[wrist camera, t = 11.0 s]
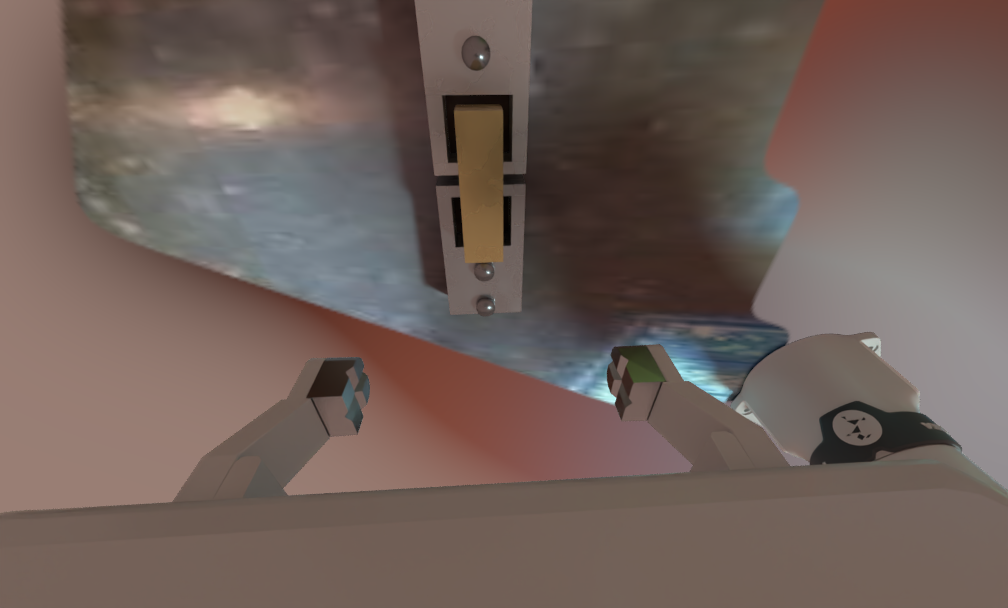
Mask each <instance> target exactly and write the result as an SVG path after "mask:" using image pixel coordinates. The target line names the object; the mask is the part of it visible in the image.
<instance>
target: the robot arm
mask: <svg viewBox="0 0 1008 608" xmlns="http://www.w3.org/2000/svg"><path fill="white" fill-rule="evenodd" d="M611 357H612V360H613V361H612V362H611V363H610V364H609V365H608V369H607V382H608V387H609V390H610V393H611V394H613V395H614V396H615V397H616V402H615V406H616V408H617V411H618V413H619V416H620V418H621V421H648V423H649V424H650V425H651V426H652V427H653V428H654V429H655V430H657V431H658V432H659V433H660V434H661V435H662V436H663V437H664V438H665V439H666V440H667V441H668V442H669V443H670V444H671V445H672V446H673V447H674V448H676V449H677V450H678V451H679V452H680V453H681V454H682V455H683V456H684V457H685V458H686V459H687V460H688V461H689V462H690V463H691V464H692V465H693V467H692V468H691V470H690V472H684V473H667V474H650V475H633V476H617V477H600V478H584V479H583V478H582V479H566V480H548V481H531V482H514V483H497V484H480V485H465V486H464V485H463V486H445V487H430V488H429V487H428V488H410V489H393V490H378V491H377V490H376V491H360V492H341V493H324V494H307V495H291V496H288V495H287V493H286V492H285V491H284V489H283V488H284V487H285V486H286V485H287V483H289V482H290V480H291V479H292V478H293V477H294V476H295V475H296V474H297V473H298V472H299V471H300V470H301V469H302V467H304V465H305V464H306V463H307V462H308V461H309V460H310V459H311V458H312V457H313V455H315V454H316V453H317V451H318V450H319V449H320V448H321V447H322V446H323V445H324V444H325V443H326V442H327V440H328V439H329V437H332V436H346V435H357V434H358V432H359V429H360V425H361V422H362V419H363V414H362V411H361V409H362V408H364V407H365V406H366V405H367V403H368V399H369V393H370V385H369V379H368V376H367V375H366V374H365V373H363V372H362V371H363V368H364V364H363V361H362V359H361V358H359V357H349V358H312V359H310V360H308V361H307V362H306V364H305V366H304V368H303V370H302V372H301V374H300V375H299V377H298V379H297V381H296V383H295V385H294V387H293V388H292V390H291V392H290V394H289V396H288V398H287V399H286V400H281V401H279V402H278V403H277V404H275V405H274V406H272V407H271V408H270V409H268V410H267V411H265V412H264V413H263V414H261V415H260V416H258V417H257V418H256V419H254V420H253V421H252V422H250V423H249V424H247V425H246V426H245V427H243V428H242V429H241V430H239V431H238V432H236V433H235V434H234V435H233V436H231V437H230V438H228V439H227V440H225V441H224V442H223V443H221V444H220V445H219V446H217V447H216V448H214V449H213V450H212V451H211V452H209V453H207V454H206V455H205V456H203V457H202V458H201V460H200V461H199V463H198V464H197V466H196V467H195V469H194V470H193V472H192V473H191V475H190V476H189V478H188V479H187V481H186V482H185V484H184V485H183V487H182V488H181V490H180V491H179V493H178V494H177V496H176V497H175V499H174V500H173V502H169V503H152V504H136V505H117V506H100V507H83V508H66V509H49V510H24V511H12V512H4V513H0V608H1008V490H1007V489H1006V488H1004V487H1003V486H1002V485H1001V484H999V483H998V482H997V481H996V480H994V479H993V478H992V477H991V476H989V475H988V474H987V473H986V472H984V471H983V470H982V469H981V468H980V467H979V466H977V465H976V464H975V463H974V462H973V461H971V460H970V459H969V458H968V457H967V456H965V455H964V454H963V453H962V447H961V446H960V445H959V444H958V443H957V442H956V441H955V440H954V439H953V438H952V437H951V436H950V435H949V433H948V432H947V431H945V430H944V429H943V428H942V427H941V426H938V425H937V424H936V423H934V422H933V421H932V420H931V419H930V418H928V417H927V416H926V415H924V414H921V413H920V410H919V403H920V398H919V395H920V392H919V390H918V389H917V388H916V387H915V386H913V385H912V384H911V383H910V382H909V381H908V380H907V379H905V378H904V377H903V376H902V375H901V374H900V373H898V372H897V371H896V370H895V369H894V368H893V367H891V366H890V365H889V364H888V363H887V362H885V361H884V360H883V359H882V358H881V340H880V338H879V337H878V336H877V335H876V334H875V333H873V332H865V333H860V334H854V335H840V334H821V335H815V336H810V337H807V338H804V339H800V340H797V341H795V342H792V343H790V344H788V345H785V346H783V347H782V348H780V349H778V350H776V351H774V352H773V353H771V354H770V355H768V356H767V357H766V358H764V359H763V360H762V361H761V362H759V363H758V364H757V365H756V366H755V367H754V368H753V369H752V371H751V372H750V373H749V375H748V376H747V378H746V380H745V382H744V384H743V388H742V390H741V392H740V394H739V395H738V396H737V397H736V398H735V399H734V401H733V402H732V403H731V408H730V407H728V406H727V405H725V404H724V403H722V402H721V401H719V400H717V399H716V398H714V397H713V396H711V395H710V394H708V393H706V392H705V391H703V390H702V389H700V388H699V387H697V386H696V385H694V384H692V383H691V382H689V381H684V380H683V379H682V377H681V375H680V374H679V372H678V370H677V369H676V367H675V366H674V364H673V362H672V361H671V359H670V358H669V356H668V354H667V353H666V351H665V350H664V348H663V346H661V345H660V344H657V345H644V346H643V345H640V346H619V347H614V348H613V349H612V352H611ZM750 420H751V421H750ZM752 421H753V422H755V423H757V424H759V425H761V426H763V427H764V428H765V430H766V431H767V432H768V433H769V435H770V436H771V437H772V438H773V440H774V441H775V442H776V444H777V445H778V446H779V447H780V448H781V450H782V451H784V452H785V453H790V454H791V455H792V456H795V457H799V458H803V459H805V460H806V461H808V462H810V465H805V466H790V465H789V464H788V462H787V461H786V460H785V458H784V457H783V455H782V454H781V453H780V451H779V450H778V449H777V447H776V446H775V445H774V443H773V442H772V441H771V439H770V438H769V436H768V435H767V434H766V432H765V431H764V430H763V428H761V427H760V426H758V425H756V424H755V423H753V422H752Z"/></svg>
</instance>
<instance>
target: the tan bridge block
mask: <svg viewBox="0 0 1008 608" xmlns="http://www.w3.org/2000/svg"><path fill="white" fill-rule="evenodd" d="M454 119H455V132H456V146H457V160H458V173H459V187H460V200H461V214H462V227H463V241H464V255H465V263H485V262H503V109H502V107H501V104H468V105H456V106H455V109H454Z"/></svg>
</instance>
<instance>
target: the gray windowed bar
mask: <svg viewBox="0 0 1008 608" xmlns="http://www.w3.org/2000/svg"><path fill="white" fill-rule="evenodd" d="M415 9H416V17H417V26H418V35H419V44H420V53H421V61H422V70H423V79H424V88H425V97H426V106H427V114H428V123H429V132H430V141H431V150H432V158H433V167H434V176H438V179H437V183H436V194H437V202H438V211H439V220H440V229H441V238H442V247H443V255H444V264H445V273H446V282H447V291H448V299H449V308H450V315H457V314H480V315H481V316H490V315H492V314H493V313H507V312H521V305H522V277H523V249H524V220H525V192H526V183H525V181H524V178H523V175H522V174H526V164H527V135H528V107H529V79H530V51H531V22H532V0H415ZM445 95H509V152H503V196H509V223H508V231H503V262H485V263H465V255H464V241H463V232H458V233H457V227H456V216H455V204H454V197H460V187H459V173H458V160H457V153H450V145H449V133H448V121H447V109H446V98H445Z"/></svg>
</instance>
